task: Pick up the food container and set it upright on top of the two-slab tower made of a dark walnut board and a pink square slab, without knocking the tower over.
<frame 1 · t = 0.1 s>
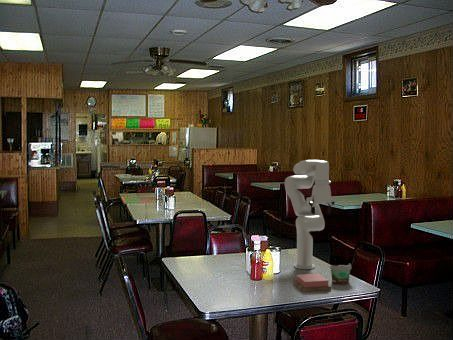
hand: (321, 213, 273), 37 cm above the table, tool pointing down, fingers open, 9 cm apart
pink square slab: (311, 283, 258), point 2 cm above the table, touching walnut slab
walnut slab: (311, 288, 258), on the table, touching pink square slab
food container: (342, 283, 265), on the table
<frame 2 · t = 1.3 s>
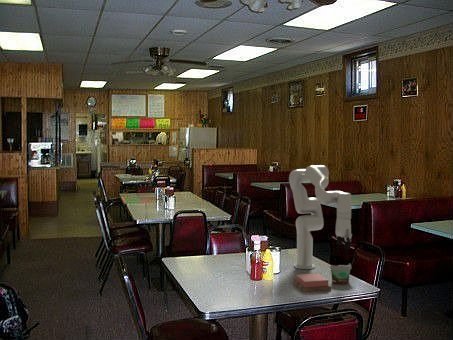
hand: (343, 246, 264), 20 cm above the table, tool pointing down, fingers open, 9 cm apart
nothing on the table moved.
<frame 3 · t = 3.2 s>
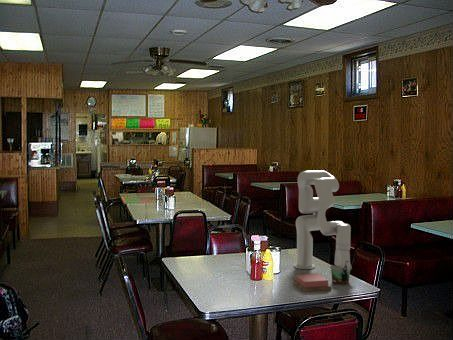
hand: (342, 278, 266), 2 cm above the table, tool pointing down, fingers closed on food container, 5 cm apart
food container: (342, 283, 265), on the table, touching gripper
everything else where it was.
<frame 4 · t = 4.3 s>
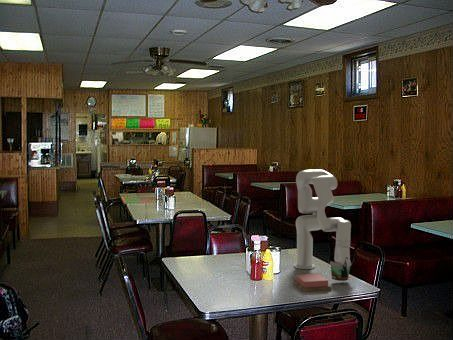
hand: (341, 275, 266), 4 cm above the table, tool pointing down, fingers closed on food container, 5 cm apart
pink square slab: (311, 283, 258), point 2 cm above the table
walnut slab: (311, 288, 258), on the table
food container: (342, 280, 265), point 2 cm above the table, touching gripper
when the fingers open (10 cm above the table, at t = 9.6 s): food container drops 2 cm, resting on pink square slab.
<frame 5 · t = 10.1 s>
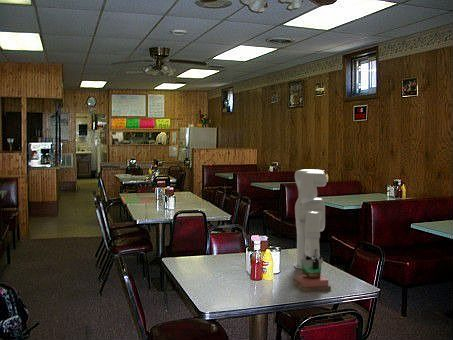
hand: (312, 266, 257), 11 cm above the table, tool pointing down, fingers open, 9 cm apart
pink square slab: (311, 282, 258), point 2 cm above the table, touching food container, walnut slab
walnut slab: (311, 288, 258), on the table, touching pink square slab
food container: (313, 278, 256), point 5 cm above the table, touching gripper, pink square slab
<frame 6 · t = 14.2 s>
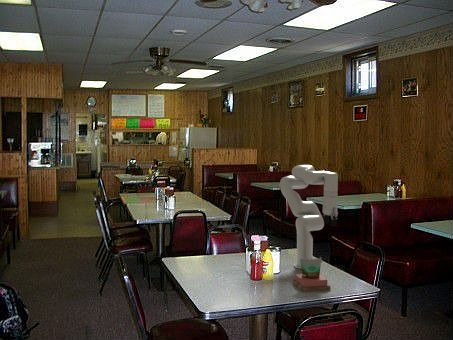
hand: (330, 224, 273), 30 cm above the table, tool pointing down, fingers open, 9 cm apart
food container: (312, 278, 257), point 5 cm above the table, touching pink square slab
everything else where it was.
at the end: food container inside the target area on the walnut slab (1.3 cm from its centre), point 5.8 cm above the walnut slab's base; pink square slab 0.3 cm off-centre on the walnut slab, point 3.0 cm above the walnut slab's base; food container tilted 1° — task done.
